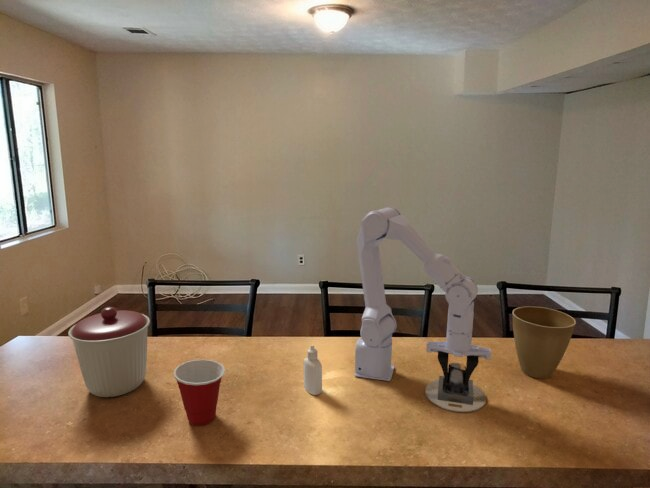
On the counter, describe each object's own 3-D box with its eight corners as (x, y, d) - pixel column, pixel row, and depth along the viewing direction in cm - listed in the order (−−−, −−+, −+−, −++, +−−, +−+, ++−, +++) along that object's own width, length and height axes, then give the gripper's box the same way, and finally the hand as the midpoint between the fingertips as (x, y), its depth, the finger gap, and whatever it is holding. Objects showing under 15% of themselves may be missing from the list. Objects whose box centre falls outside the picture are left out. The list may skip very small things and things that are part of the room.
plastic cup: (225, 431, 96) (222, 380, 93) (173, 435, 94) (168, 383, 92) (229, 402, 106) (226, 356, 104) (182, 406, 105) (178, 359, 102)
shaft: (446, 384, 111) (447, 361, 110) (462, 385, 111) (464, 362, 109) (447, 393, 107) (449, 369, 106) (465, 394, 107) (467, 370, 105)
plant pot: (554, 393, 110) (561, 332, 107) (496, 370, 121) (501, 314, 117) (577, 373, 120) (585, 316, 116) (522, 354, 131) (528, 301, 127)
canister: (168, 385, 114) (161, 306, 109) (93, 416, 101) (82, 328, 97) (136, 362, 126) (129, 290, 122) (65, 387, 113) (54, 308, 109)
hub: (423, 406, 104) (424, 396, 104) (427, 377, 118) (427, 368, 117) (487, 416, 101) (488, 406, 100) (484, 385, 114) (484, 375, 113)
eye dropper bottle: (320, 383, 115) (320, 340, 112) (322, 395, 109) (322, 350, 107) (303, 384, 114) (303, 340, 112) (304, 396, 109) (303, 350, 106)
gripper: (426, 332, 104) (424, 386, 107) (493, 340, 100) (488, 395, 103) (428, 321, 110) (426, 371, 113) (491, 327, 106) (487, 380, 109)
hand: (455, 382), depth 108 cm, fingers closed on shaft, 4 cm apart
